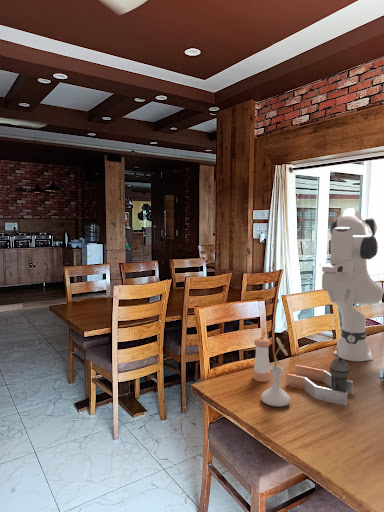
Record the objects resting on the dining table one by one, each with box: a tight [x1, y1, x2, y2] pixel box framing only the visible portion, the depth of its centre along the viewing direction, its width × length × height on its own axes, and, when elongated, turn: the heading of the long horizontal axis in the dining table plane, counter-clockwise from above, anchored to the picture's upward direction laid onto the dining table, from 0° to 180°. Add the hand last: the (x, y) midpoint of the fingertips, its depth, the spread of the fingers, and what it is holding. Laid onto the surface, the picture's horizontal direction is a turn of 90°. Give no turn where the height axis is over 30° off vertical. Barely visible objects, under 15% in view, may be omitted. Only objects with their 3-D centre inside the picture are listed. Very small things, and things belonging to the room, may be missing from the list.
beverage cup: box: [329, 347, 350, 392], centre depth 152 cm, size 7×7×20 cm
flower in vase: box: [260, 337, 292, 408], centre depth 148 cm, size 13×11×25 cm
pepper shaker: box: [253, 336, 271, 382], centre depth 170 cm, size 7×7×19 cm
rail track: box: [286, 364, 354, 407], centre depth 160 cm, size 19×25×5 cm
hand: (340, 300), depth 155 cm, fingers open, 8 cm apart
